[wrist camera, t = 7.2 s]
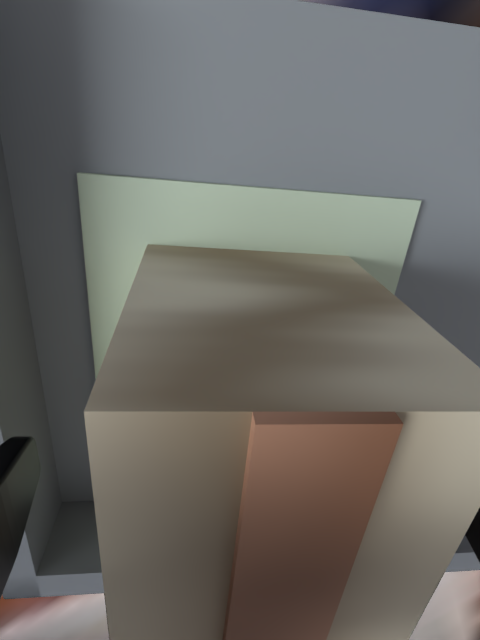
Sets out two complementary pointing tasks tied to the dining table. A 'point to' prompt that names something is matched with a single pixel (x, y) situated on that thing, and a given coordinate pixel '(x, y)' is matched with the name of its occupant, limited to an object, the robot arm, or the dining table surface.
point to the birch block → (276, 451)
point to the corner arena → (211, 192)
